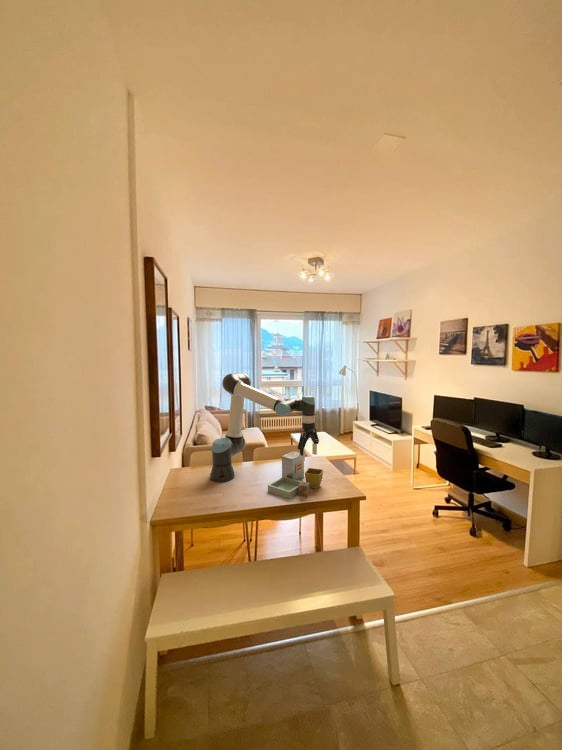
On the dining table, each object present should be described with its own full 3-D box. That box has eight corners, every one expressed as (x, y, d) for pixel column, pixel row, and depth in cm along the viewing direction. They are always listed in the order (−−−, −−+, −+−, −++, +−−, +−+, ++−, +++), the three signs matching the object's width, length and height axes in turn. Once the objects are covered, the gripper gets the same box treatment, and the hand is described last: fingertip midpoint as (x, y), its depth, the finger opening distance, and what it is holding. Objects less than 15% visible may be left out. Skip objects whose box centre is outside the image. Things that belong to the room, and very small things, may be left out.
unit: (281, 480, 184) (281, 456, 183) (293, 473, 194) (293, 451, 193) (293, 484, 179) (293, 459, 178) (305, 477, 189) (304, 453, 188)
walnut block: (298, 496, 164) (298, 485, 163) (300, 492, 168) (300, 481, 168) (307, 497, 162) (307, 486, 162) (309, 493, 167) (309, 482, 166)
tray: (267, 491, 170) (267, 485, 169) (283, 482, 181) (283, 476, 181) (289, 498, 161) (289, 492, 160) (305, 488, 172) (305, 482, 172)
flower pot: (304, 488, 173) (304, 472, 172) (308, 482, 181) (308, 467, 180) (319, 490, 170) (319, 475, 169) (323, 484, 178) (323, 469, 177)
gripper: (302, 426, 168) (302, 464, 169) (324, 419, 187) (324, 453, 189) (291, 425, 172) (291, 462, 174) (314, 417, 192) (314, 450, 193)
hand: (308, 457), depth 181 cm, fingers open, 13 cm apart
